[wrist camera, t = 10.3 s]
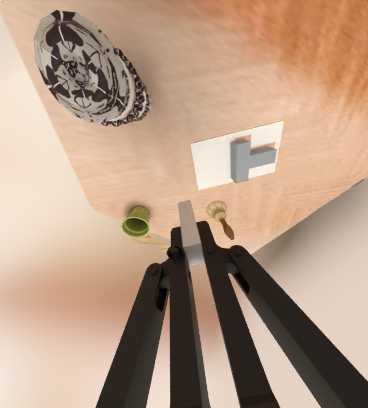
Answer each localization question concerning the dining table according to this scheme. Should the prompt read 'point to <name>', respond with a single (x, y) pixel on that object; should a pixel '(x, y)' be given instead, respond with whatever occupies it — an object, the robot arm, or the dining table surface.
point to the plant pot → (136, 223)
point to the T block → (248, 159)
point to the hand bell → (220, 216)
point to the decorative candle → (88, 71)
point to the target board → (221, 156)
